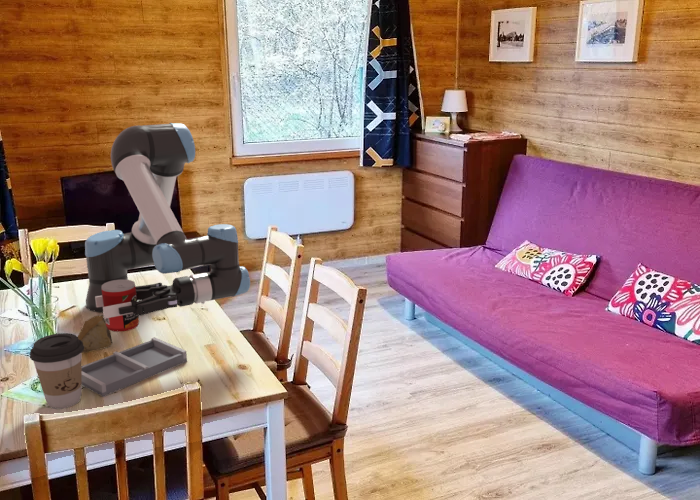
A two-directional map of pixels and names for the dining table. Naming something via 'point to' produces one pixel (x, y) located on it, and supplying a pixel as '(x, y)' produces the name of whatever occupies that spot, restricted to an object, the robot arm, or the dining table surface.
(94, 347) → the rock
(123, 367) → the tray
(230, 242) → the robot arm
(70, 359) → the coffee cup
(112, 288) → the canned food
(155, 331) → the dining table surface
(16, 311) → the dining table surface
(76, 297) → the dining table surface
